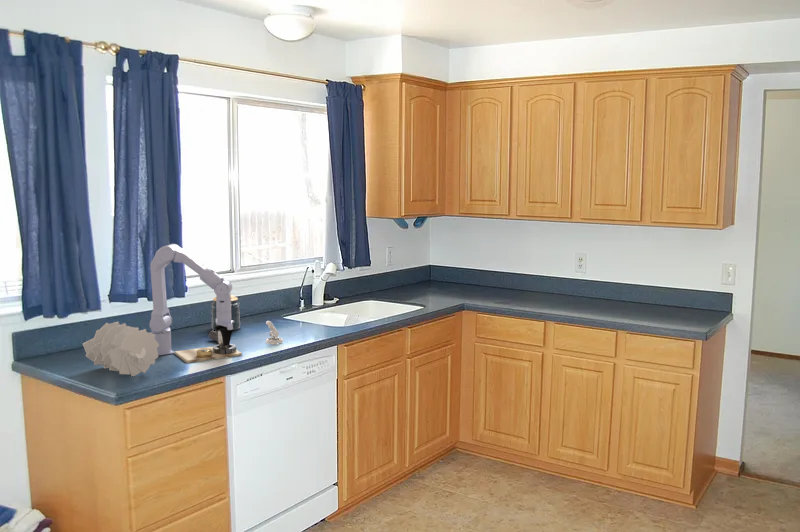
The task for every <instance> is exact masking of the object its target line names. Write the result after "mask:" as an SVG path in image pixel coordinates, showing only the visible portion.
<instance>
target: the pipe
mask: <svg viewBox="0 0 800 532" xmlns="http://www.w3.org/2000/svg"><path fill="white" fill-rule="evenodd" d="M216 326H218V325H216ZM208 338H209V339H211V340H212V341H215V342H217V343H218V344H219V342H218V334H217V332H216V331H214V330H213V329H212V330H210V332H209V333H208Z"/></svg>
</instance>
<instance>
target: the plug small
mask: <svg viewBox="0 0 800 532" xmlns="http://www.w3.org/2000/svg"><path fill="white" fill-rule="evenodd" d="M196 352H197V357H199V358H207V357H211V356H212V350H211V349H200V350H197V351H196Z"/></svg>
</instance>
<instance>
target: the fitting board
mask: <svg viewBox="0 0 800 532" xmlns="http://www.w3.org/2000/svg"><path fill="white" fill-rule="evenodd" d="M200 349H211V350H212V356H211V357H207V358H199V357H197V352H196V351H197V350H200ZM174 352H175V353H174V354H175V355H176V356H177V357H178V358H180V359H181V360H182V361H184V363H186V364H190V363H191V362H192V363H197V362H198V361H199V362H204V361H205V360H206V361H210V360H212V359H213V360H219V359H218V358H220V359H225V357H228V358H233V357H232V356H235V357H240V356H239V355H242V356H243V352H241V351H240V350H238V349H236V352H234V353H231V354H215V353H213V346H207V347H206V346H205V347H199V348H198V347H197V348H192V349H191V348H190V349H183V350H182V349H181V350H176V351H174Z"/></svg>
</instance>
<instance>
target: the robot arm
mask: <svg viewBox="0 0 800 532" xmlns="http://www.w3.org/2000/svg"><path fill="white" fill-rule="evenodd" d="M172 261H173V263H182V264H183V265H185V266H187V267H188V268H190V270H192V271H193V272H195V273H197V274H198V276H199V280H201V281H202V282H203V283H204V284H205V285H207V286H208V287H209V288H210V289H212V290H213V291H214V292H213V293H214V294H215V295H216V296H215V297H216V314H217V319H216V324H217V325H218V326H214V328H215V330H216V332H217V334H218V330H220V332H221V335H222V340H223V345H224V346H227V345H229V344H231V338H232V336H233V333H234V331H235V330H234V328H233V325H232V323H234V321H233V320H231V295H232V290H233V284H232V283H231V281H230V280H228V279H225V278H224V277H223V276H220V274H218V273H216V270H215V268H214V269H213V268H210V267H207V268H205V267H204V266H203V265H202V264H201V263H199V262H198V261H197V260H196V259H195V258H194V257H193V256H191V255H190V253H188V252H187V251H186V250H185V249H184V248H183V247H180V246H179V245H178V244H176V243H170V244H168V245H164V246H161V247H160V248H158V250H156V252H155V255H154V257H153V259H152V260H151V262H150V277H151V278H150V282H151V290H152V291H151V294H152V306H153V307H152V310H151V314H150V316H151V317H150V321H149V329H150V330H151V331H150V332H149V333H152V334H155V337H154V339H155V340H156V341H157V342H158V344H159V346H158V347H157V352H158V356H165V355H172V354H175V351H174V350H172V331H171V330H172V329H171V327H170V326H172V324H173V317H172V315H171V313H170V309H169V307H168V302H167V288H166V287H167V286H166V285H167V284H166V273H165V272H166V271H165V268H166V267H167V266H168V265H169V264H170V263H171V262H172Z"/></svg>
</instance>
